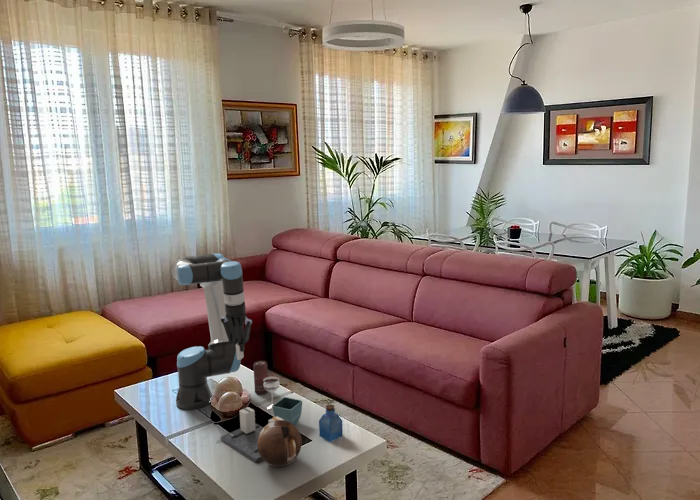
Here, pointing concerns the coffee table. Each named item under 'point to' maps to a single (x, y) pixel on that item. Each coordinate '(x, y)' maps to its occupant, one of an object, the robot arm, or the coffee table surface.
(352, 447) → the coffee table surface
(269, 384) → the wineglass
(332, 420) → the perfume bottle
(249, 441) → the plate
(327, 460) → the coffee table surface
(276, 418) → the front fader
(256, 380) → the can
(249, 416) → the block
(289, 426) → the wooden sphere
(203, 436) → the coffee table surface
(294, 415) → the flower pot
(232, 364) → the robot arm
